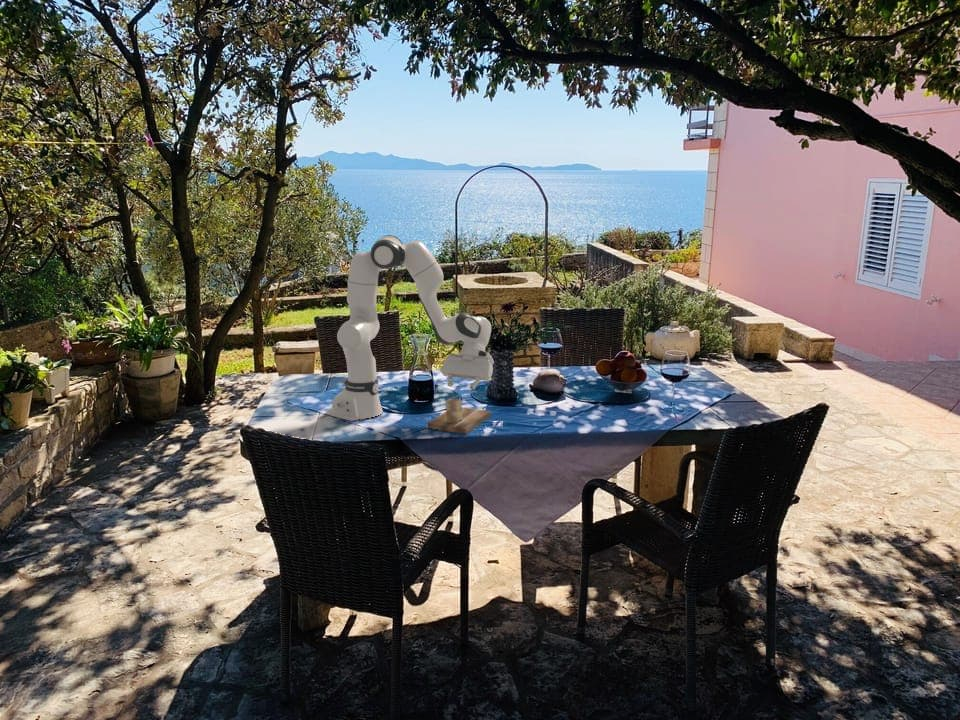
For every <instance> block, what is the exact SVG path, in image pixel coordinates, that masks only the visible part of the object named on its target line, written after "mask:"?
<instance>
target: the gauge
mask: <svg viewBox="0 0 960 720" xmlns="http://www.w3.org/2000/svg"><path fill="white" fill-rule="evenodd" d="M462 408H463V407H462V399H460V398H448V399H447V400H446V401H445V409H446V410H445V412H446V419H447V422H453V423H458V422H460V421H463V420H462Z"/></svg>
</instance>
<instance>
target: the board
mask: <svg viewBox="0 0 960 720" xmlns="http://www.w3.org/2000/svg"><path fill="white" fill-rule="evenodd" d="M491 415H492V413H491V410H483V409H478V408H477V409H476V408H468V407H462V420H463V421H460V422H458V423H453V422H447V419H446V411H444V412H443V413H441V414H440V415H437V416H436V417H435V418H434V419H432V420H430V421H429V422H428V423H427V429H428V428H432V429H431V430H435V429H438V430H437V431H443V432H451V433H456V434H464V435H467V434H468V433H470V432H471V431H472V430H474V429H475V428H477V427H478V426H479V425H481V424H483V423H484V421H486V420H488V419H489V418H490V417H491Z"/></svg>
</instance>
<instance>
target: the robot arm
mask: <svg viewBox="0 0 960 720" xmlns="http://www.w3.org/2000/svg"><path fill="white" fill-rule="evenodd" d="M400 266H403V267H404V268H405V269H406V270H407V271H408V273H409V275H410V276H411V277H412V280H413V281H414V283H415V285H416V289H417V295H418V296H417V297H418V298H419V301H420V302H421V305H422V307H423V309H424V312H425V313H426V315H427V317H428V319H429V322H430V323H431V325H432V328H433V332H434V333H433V334H434V335H435V337H436V340H437V341H438V342H439V343H440V344H442V345H444V346H451V345H453V344H455V343H457V342H459V341H461V342H463V345H462V348H461V350H460V353H459V354H456V353H455V354H454V353H451V354H448V355H446V357H445V360H444V361H443V363H442V365H441V367H440V372H441V374H442V375H443V376H444V377H447V380H448V382H447V386H448V387H450V388H453V385H454V382H453V381H452V380H453V379H454V378H457V379H458V378H460V379H469V380H475V381H473V382H471V383H470V385H469V388H470V389H471V390H475V389H476V387H477V386H478V384H480V383H481V381H486V382H487V381H488V382H489V381H490V380H491V379H492V375H493V371H494V367H493V365H494V363H495V361H494V359H493V357H492V356H491V354H490V353H489V352H488V351H486V347H487V346H488V344H489V341H490V338H491V333H492V324H491V322H490V320H488V319H487V318H486V317H484V316H480V315H479V316H473V315H470V314H469V313H466V312H461V313H458V314H456V315H453V316H451V317H447V316H446V315H445V313H444V311H443V309H442V307H441V305H440V303H439V301H438V298H437V297H438V296H437V295H438V292H439V289H440V288H441V286H442V284H443V283H444V282H443V281H444V272H443V270H442V267H441V266H440V265H439V263H438V260H436V258H435V257H434V255H433V254H432V252H431V251H430V250H429V249H428V247H427V246H426V245H425V244H424V243H423V242H422V241H419V240H412V241H409V242H408V243H406V244H403V242H402V240H401V239H399V238H398V237H397V236H395V235H384V236H383V237H380V238H378V239H377V240H376V241H375V243H374V244H373V245H372V246H371V249H370V251H359V252H356V253H355V254H354V255H353V256H352V258H351V261H350V266H349V271H348V278H347V280H348V281H347V294H346V302H347V304H348V307H349V315H350V317H349V320H347V321H345V322H344V323H342V324H341V326H340V327H339V329H338V331H337V334H336V336H337V337H336V339H337V342H338V344H339V345H340V347H341V348H342V351H343V352H344V353H343V354H344V356H345V361H346V368H347V379H346V380H345V381H343V382H342V386H344V388H343V390H341V391H340V392H339V393H338V394H337V395H336V396H334V397H333V399H332V403H331V404H332V405H331V406H332V407H330V408H328V409H327V410H326V415H327V416H331V417H334V418H339V419H342V420H346V421H350V422H354V420H355V421H358V420H359V419H360V420H367V419H366V418H369V419H372V418H371V417H374V418H376V417H375V416H377V417H379V416H381V415H382V414H383V413H384V411H383V408H382V405H381V401H380V396H379V378H378V377H377V364H376V363H377V362H376V358H375V356H374V355H373V352H372V349H371V341H372V340H373V339H375V338H376V336H377V335H378V333H379V330H380V321H379V317H378V310H377V309H378V308H377V297H378V285H379V284H378V283H379V273H380V270H381V269H383V270H390V269H392V268H396V267H400ZM382 412H383V413H382ZM380 414H381V415H380ZM378 415H379V416H378Z"/></svg>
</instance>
